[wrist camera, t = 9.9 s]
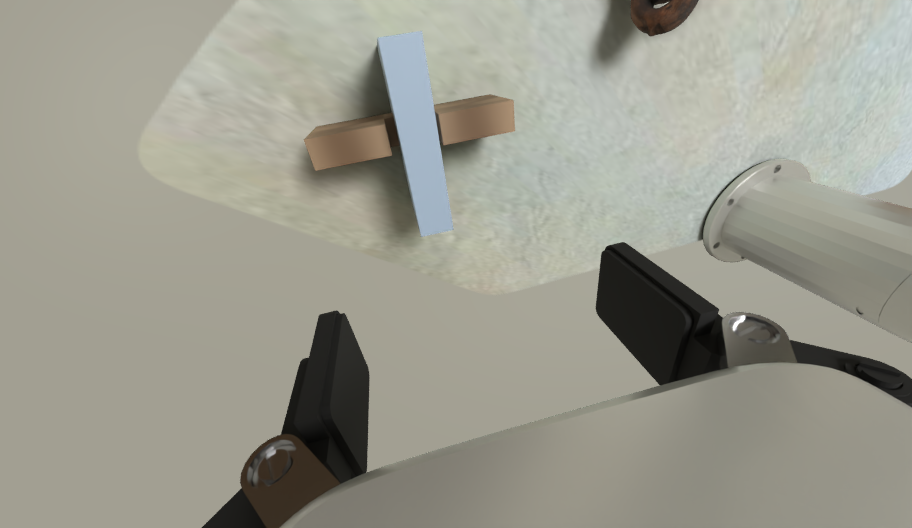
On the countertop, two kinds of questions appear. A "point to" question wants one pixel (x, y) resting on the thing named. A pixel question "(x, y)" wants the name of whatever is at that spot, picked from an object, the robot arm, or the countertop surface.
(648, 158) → the countertop surface
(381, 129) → the walnut slot plate
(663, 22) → the chocolate donut
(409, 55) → the blue slot plate
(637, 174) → the countertop surface
